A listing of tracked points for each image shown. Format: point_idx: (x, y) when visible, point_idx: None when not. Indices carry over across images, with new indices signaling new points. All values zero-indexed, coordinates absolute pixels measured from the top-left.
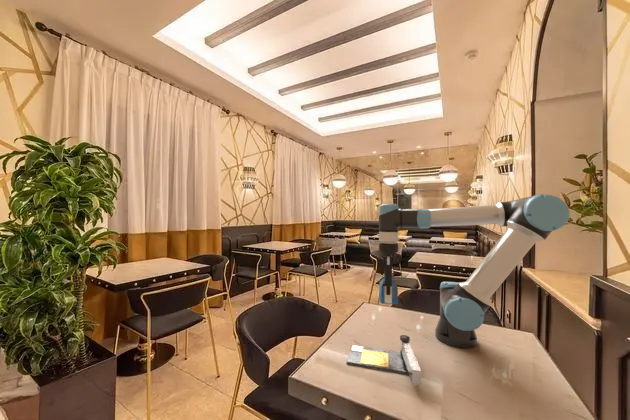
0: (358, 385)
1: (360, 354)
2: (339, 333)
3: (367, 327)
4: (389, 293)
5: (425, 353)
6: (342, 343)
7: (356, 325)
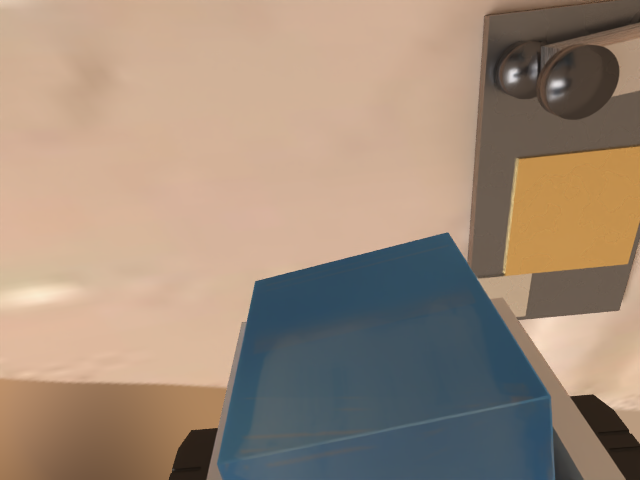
0: None
1: (549, 275)
2: None
3: (211, 298)
4: (617, 423)
5: None
6: None
7: (218, 347)
